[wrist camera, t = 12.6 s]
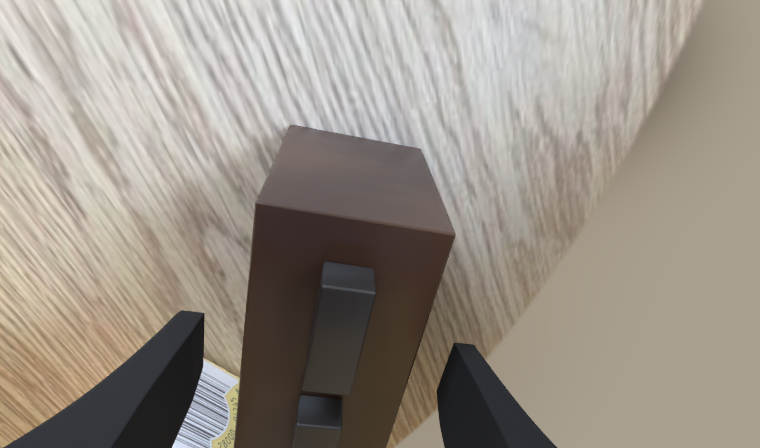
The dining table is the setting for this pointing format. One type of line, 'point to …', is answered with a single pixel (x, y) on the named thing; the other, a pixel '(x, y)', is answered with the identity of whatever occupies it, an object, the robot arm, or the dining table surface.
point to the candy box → (211, 411)
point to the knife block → (337, 291)
